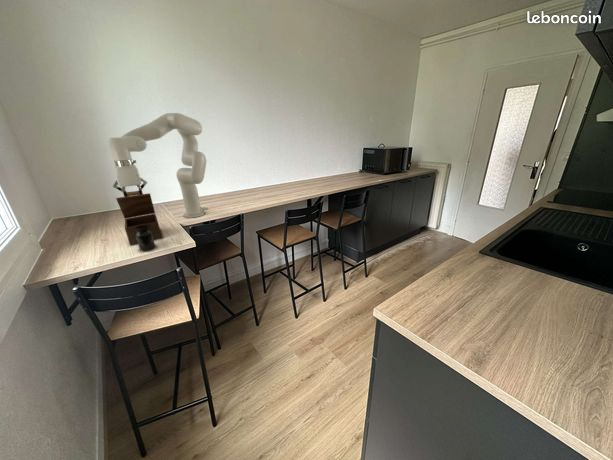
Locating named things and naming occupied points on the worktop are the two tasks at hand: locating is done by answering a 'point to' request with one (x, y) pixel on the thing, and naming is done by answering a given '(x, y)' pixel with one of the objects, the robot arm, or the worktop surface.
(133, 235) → the walnut box
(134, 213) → the lid
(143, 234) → the supplement bottle
